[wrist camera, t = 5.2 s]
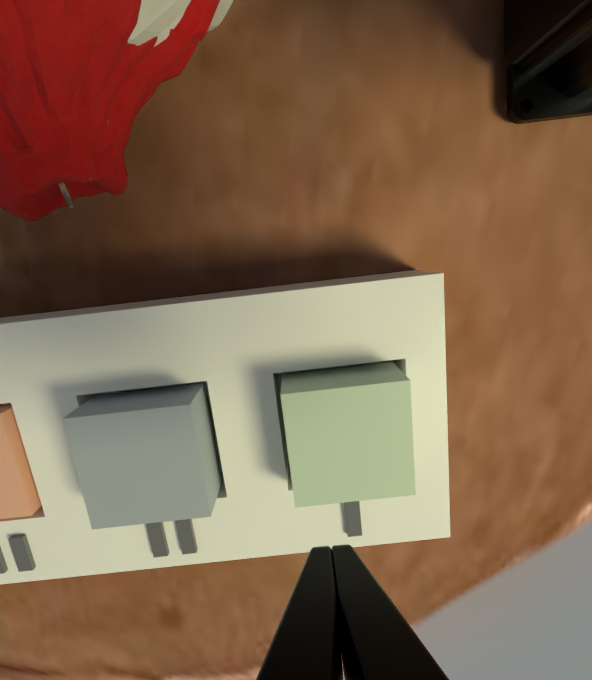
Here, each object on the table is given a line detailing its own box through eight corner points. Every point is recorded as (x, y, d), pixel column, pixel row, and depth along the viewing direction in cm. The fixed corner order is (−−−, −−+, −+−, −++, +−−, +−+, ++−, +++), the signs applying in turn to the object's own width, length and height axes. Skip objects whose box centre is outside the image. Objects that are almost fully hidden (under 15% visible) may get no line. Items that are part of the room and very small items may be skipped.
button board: (416, 269, 16) (445, 273, 13) (425, 492, 19) (452, 540, 16) (-104, 329, 17) (-195, 346, 13) (-28, 541, 19) (-91, 597, 16)
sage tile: (393, 362, 15) (410, 380, 13) (398, 462, 16) (415, 495, 14) (282, 374, 15) (280, 394, 13) (294, 473, 16) (295, 507, 14)
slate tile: (204, 383, 15) (189, 404, 13) (221, 481, 16) (210, 516, 14) (95, 395, 15) (62, 418, 13) (118, 492, 16) (92, 529, 14)
